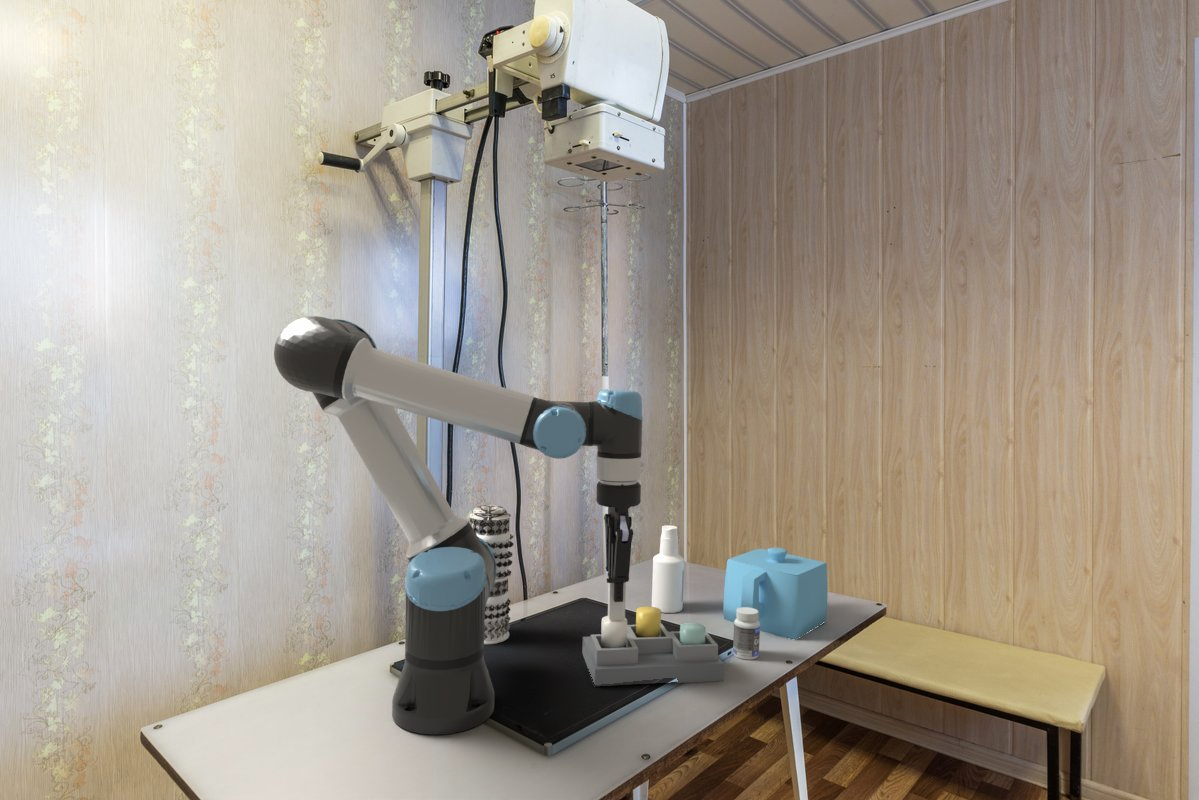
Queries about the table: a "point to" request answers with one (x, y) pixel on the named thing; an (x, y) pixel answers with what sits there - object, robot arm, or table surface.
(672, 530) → the spray bottle
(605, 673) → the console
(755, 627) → the pill bottle
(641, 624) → the button mustard
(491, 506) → the decorative candle
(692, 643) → the button teal
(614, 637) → the button ivory
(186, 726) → the table surface
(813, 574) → the container
